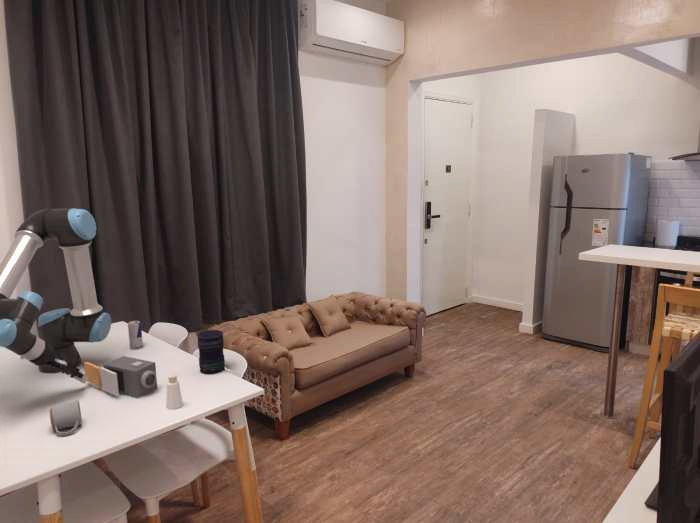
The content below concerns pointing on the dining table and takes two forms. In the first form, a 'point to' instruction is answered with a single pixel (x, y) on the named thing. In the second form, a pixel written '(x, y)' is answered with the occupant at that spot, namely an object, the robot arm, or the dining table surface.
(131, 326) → the energy drink
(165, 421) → the dining table surface
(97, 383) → the side door
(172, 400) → the pepper shaker
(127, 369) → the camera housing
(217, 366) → the storage jar
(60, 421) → the ceramic mug
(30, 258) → the robot arm
